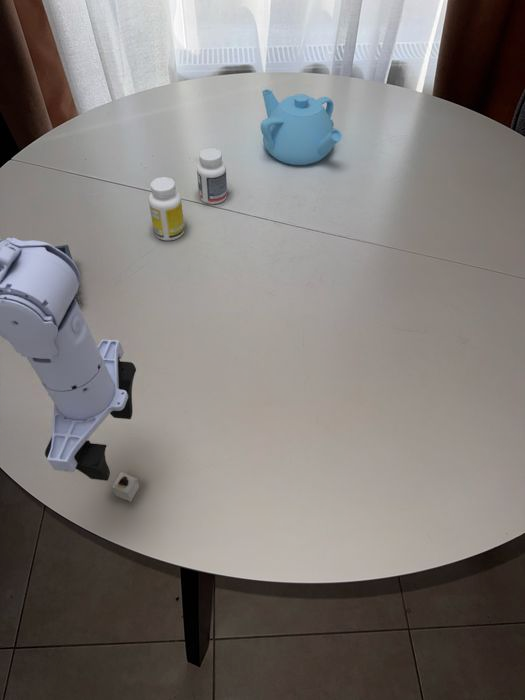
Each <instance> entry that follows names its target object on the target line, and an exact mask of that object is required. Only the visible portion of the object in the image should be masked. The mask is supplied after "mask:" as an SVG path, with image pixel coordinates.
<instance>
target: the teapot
mask: <svg viewBox="0 0 525 700" xmlns="http://www.w3.org/2000/svg"><path fill="white" fill-rule="evenodd" d="M262 97H263V102H264V106H265V110H266V116H267V118H264V119H263V120H262V121H261V122H260V131H261V132H260V133H261V134H262V144H263V146H264V148H265V149H266V151H267V152H268V153H269V154H270V155H271V156H272V157H273V158H274V159H276V160H277V161H278V162H281V163H283V164H287V165H292V166H307V165H313V164H315V163H318V162H319V161H321V160H323V159H324V158H325V157H326V156H328V155H329V154H330V152H331V151H332V149H333V147H334V146H335V145H336V144H337V143H338V142H340V141H341V140H342V137H343V136H342V132H341V131H340V130H339V129H336V128H335V129H334V125H335V124H334V120H332V115H333V112H334V101H333V100H332V99H331V98H330V97H328V96H321V97H319V98H317V99H316V98H314V97H311V96H308V95H307V94H304V93H297V94H295V95H292V96H288V97H287V96H286V97H285V98H284V99H282V100H281V101H280V102H279V100H277V98H276V95H275V94H274V93H273V90H271V89H268V88H266V89H264V90H262ZM324 104H326V107H324Z"/></svg>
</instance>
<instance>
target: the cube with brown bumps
mask: <svg viewBox="0 0 525 700" xmlns="http://www.w3.org/2000/svg"><path fill="white" fill-rule="evenodd" d="M139 488H140V484H139V481H138V478H137V477H134V476H132V475H129V474H128V473H127V474H126V473H125V472H120V473H119V475H118V476H117V478H116V480H114V483H113V485H112V486H111V489H112V491H113V493H114V496H116V497H118V498H120V499H123V500H125V501H128V502H132V501H133V499H134V497H135V496H136V494H137V492H138V490H139Z"/></svg>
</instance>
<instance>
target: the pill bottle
mask: <svg viewBox="0 0 525 700" xmlns="http://www.w3.org/2000/svg"><path fill="white" fill-rule="evenodd" d="M198 161H199V163H198V164H197V166H196V176H197V187H198V196H199V199H200V200H201V201H202V202H204V203H206V204H210V205H217V204H220V203H223V202H224V201H225V200H226V199H227V197H228V183H227V167H226V164H225V163H224V162H223V155H222V152H221V151H220V150H219V149H218V148H214V147H213V148H212V147H209V148H204V149H202V150H200V151H199V154H198Z"/></svg>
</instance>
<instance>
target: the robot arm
mask: <svg viewBox="0 0 525 700" xmlns="http://www.w3.org/2000/svg"><path fill="white" fill-rule="evenodd" d="M55 247H56V246H54V245H52V244H51V243H49V242H46V241H42V240H34V239H33V240H32V239H31V240H20V239H18V238H16V237H12V238H11V237H9V236H8V237H7V238H6V239H1V238H0V337H2V338H3V339H5V340H6V341H8V342H9V344H10V345H11V346H12V347H13V349H14V351H15V352H16V353H17V354H20V355H21V356H22V357H24V358H26V359H27V360H28V362H29V364H30V366H31V368H32V369H33V370H34V372H35V374H36V376H37V378H38V379H39V381H40V382H41V384H42V386H43V387H44V389H45V391H46V393H47V394H48V395H49V397H50V399H51V401H52V403H53V419H52V432H51V433H52V434H51V438H50V440H49V441H48V444H47V446H46V448H45V451H44V456H45V458H46V460H47V462H48V463H49V465H50V466H51V468H52V469H53V470H54V471H60V472H67V473H68V472H70V473H74V472H75V470H76V471H78V472H80V473H82V474H83V475H85V476H86V477H87V478H89V479H90V480H95V481H96V480H98V481H104V482H105V481H106V482H107V481H109V479H110V476H111V470H110V467H109V465H108V463H107V459H106V449H107V447H108V444H103V443H93V442H91V441H90V440H89V439H90V437H91V436H92V435H93V434H94V432H96V430H97V429H98V428H99V427H100V425H102V423H104V421H105V420H106V419H107V418H108V416H109V415H111V417H112V418H114V419H124V420H131V419H132V418H133V417H132V416H133V383H134V378H135V375H136V374H135V373H136V372H137V368H136V365H135V364H134V363H133V362H131V361H122V360H121V359H122V358H123V355H124V353H125V352H124V349H123V347H122V345H121V342H120V340H118V339H117V340H116V339H101V340H100V342H99V344H98V345H97V343H96V341H95V339H94V336H93V334H92V332H91V329H90V328H89V326H88V323H87V321H86V319H85V316H84V314H83V312H82V310H81V308H80V306H79V305H80V304H79V302H78V303H77V301H76V299H74V296H75V294H76V293H77V294H78V291H79V286H80V285H81V283H82V282H81V281H82V276H81V272H80V269H79V268H78V266H77V265H76V263H75V262H74V260H73V259H72V260H73V261H72V260H71V259H70V258H69V257H68V256H67V255H66V254H65V253H63V252H62V251H60V250H58V249H57V248H55Z"/></svg>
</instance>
